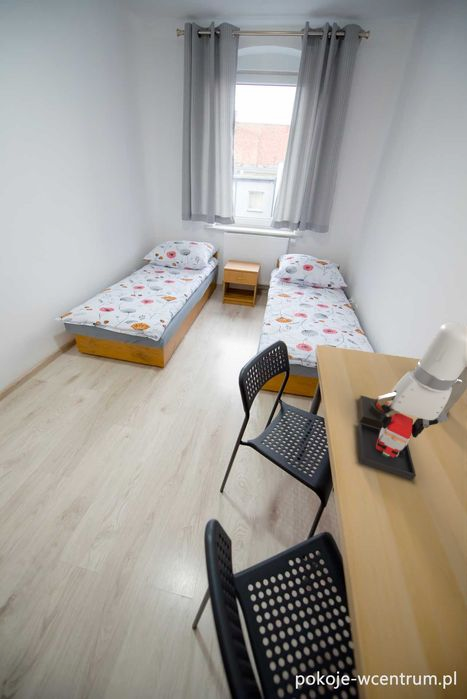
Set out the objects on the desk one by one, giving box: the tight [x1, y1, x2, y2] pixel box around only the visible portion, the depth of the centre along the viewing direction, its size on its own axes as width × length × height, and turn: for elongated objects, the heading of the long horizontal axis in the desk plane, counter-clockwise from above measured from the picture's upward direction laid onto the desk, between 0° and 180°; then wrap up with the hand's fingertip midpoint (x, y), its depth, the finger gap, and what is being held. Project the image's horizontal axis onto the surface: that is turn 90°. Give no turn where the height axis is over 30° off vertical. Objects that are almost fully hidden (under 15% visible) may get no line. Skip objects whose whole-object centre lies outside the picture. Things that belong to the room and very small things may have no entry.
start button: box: [376, 401, 390, 411], centre depth 86 cm, size 4×4×2 cm
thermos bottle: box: [443, 367, 467, 416], centre depth 87 cm, size 8×8×28 cm
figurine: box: [376, 412, 414, 459], centre depth 72 cm, size 8×7×12 cm
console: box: [357, 395, 391, 429], centre depth 87 cm, size 11×10×4 cm
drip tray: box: [356, 422, 417, 481], centre depth 77 cm, size 13×13×2 cm
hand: (398, 428), depth 72 cm, fingers closed on figurine, 6 cm apart
